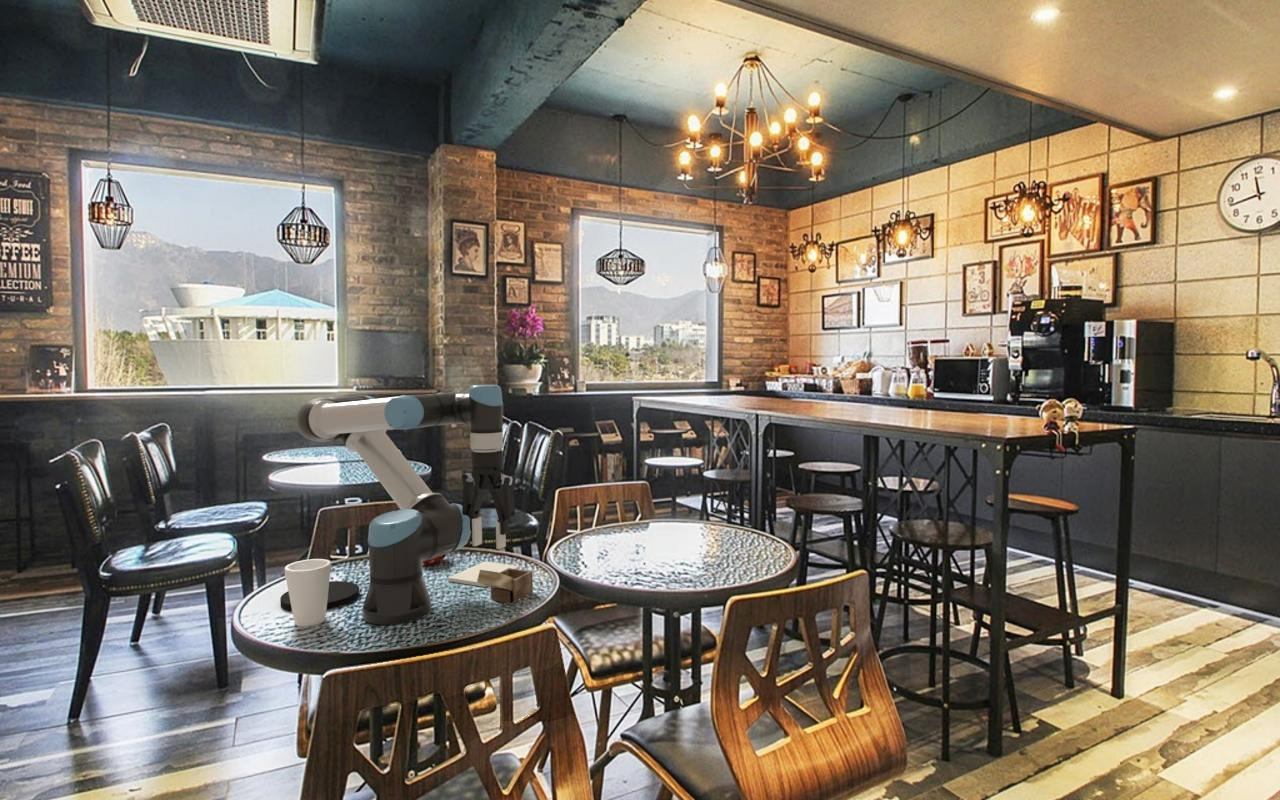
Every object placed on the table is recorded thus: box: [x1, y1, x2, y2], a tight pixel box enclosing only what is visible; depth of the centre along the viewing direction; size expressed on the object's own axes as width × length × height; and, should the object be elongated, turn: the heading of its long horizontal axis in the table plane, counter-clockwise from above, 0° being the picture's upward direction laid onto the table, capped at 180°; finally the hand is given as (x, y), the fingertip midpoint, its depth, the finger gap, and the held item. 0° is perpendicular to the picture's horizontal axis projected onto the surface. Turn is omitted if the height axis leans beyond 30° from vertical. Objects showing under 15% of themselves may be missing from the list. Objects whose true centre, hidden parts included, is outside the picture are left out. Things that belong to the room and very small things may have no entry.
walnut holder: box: [490, 568, 534, 604], centre depth 170 cm, size 9×7×6 cm
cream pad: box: [447, 561, 521, 588], centre depth 187 cm, size 16×12×1 cm
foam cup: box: [284, 558, 332, 627], centre depth 155 cm, size 10×9×13 cm
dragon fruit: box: [422, 553, 448, 567], centre depth 199 cm, size 8×8×12 cm
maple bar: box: [477, 570, 515, 594], centre depth 167 cm, size 14×5×3 cm, turn 156°
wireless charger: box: [279, 580, 360, 613], centre depth 170 cm, size 18×18×2 cm
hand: (489, 546), depth 162 cm, fingers open, 6 cm apart
